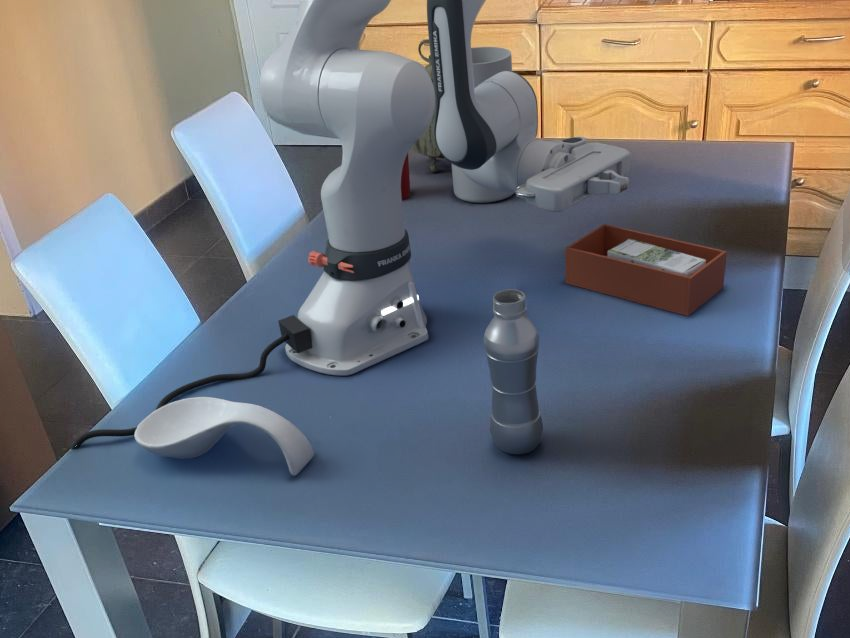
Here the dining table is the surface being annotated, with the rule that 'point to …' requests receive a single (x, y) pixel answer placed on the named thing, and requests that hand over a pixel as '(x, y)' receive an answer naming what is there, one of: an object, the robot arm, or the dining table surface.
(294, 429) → the spoon rest
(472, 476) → the dining table surface
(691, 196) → the dining table surface
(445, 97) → the robot arm
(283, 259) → the dining table surface
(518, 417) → the plastic bottle
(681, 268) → the syrup box
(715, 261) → the bin
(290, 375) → the dining table surface
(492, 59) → the cylinder vase
